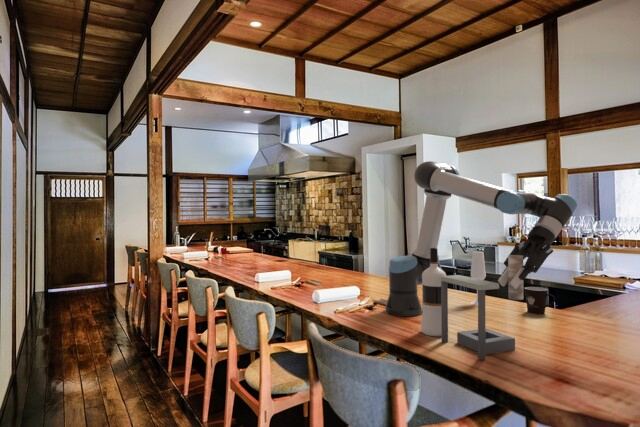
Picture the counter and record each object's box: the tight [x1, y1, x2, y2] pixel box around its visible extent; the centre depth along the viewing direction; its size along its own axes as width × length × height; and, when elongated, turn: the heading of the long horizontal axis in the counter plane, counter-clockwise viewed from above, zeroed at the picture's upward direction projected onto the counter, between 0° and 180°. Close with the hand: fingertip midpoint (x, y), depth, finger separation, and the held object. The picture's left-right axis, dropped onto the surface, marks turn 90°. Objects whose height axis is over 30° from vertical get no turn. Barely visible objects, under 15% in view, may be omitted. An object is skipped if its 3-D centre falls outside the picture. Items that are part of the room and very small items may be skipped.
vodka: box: [420, 247, 447, 338], centre depth 144 cm, size 9×9×30 cm
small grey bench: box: [441, 274, 500, 361], centre depth 128 cm, size 7×19×22 cm, turn 20°
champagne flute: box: [470, 251, 487, 306], centre depth 191 cm, size 7×7×24 cm
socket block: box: [456, 327, 516, 355], centre depth 130 cm, size 12×12×4 cm
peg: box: [507, 254, 525, 301], centre depth 134 cm, size 4×4×14 cm
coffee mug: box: [524, 286, 556, 315], centre depth 171 cm, size 12×9×10 cm
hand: (506, 284), depth 133 cm, fingers closed on peg, 4 cm apart
